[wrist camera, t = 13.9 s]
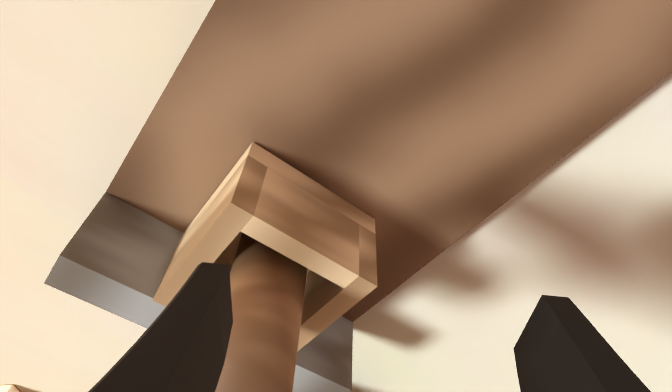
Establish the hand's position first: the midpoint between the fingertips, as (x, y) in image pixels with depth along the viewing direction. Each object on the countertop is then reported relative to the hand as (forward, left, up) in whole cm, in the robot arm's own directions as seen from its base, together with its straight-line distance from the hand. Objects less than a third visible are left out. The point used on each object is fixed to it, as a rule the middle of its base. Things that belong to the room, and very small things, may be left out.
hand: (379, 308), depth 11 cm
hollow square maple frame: (0, +7, -9) cm, 11 cm away
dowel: (0, +6, -8) cm, 10 cm away
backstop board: (0, +1, -10) cm, 10 cm away
